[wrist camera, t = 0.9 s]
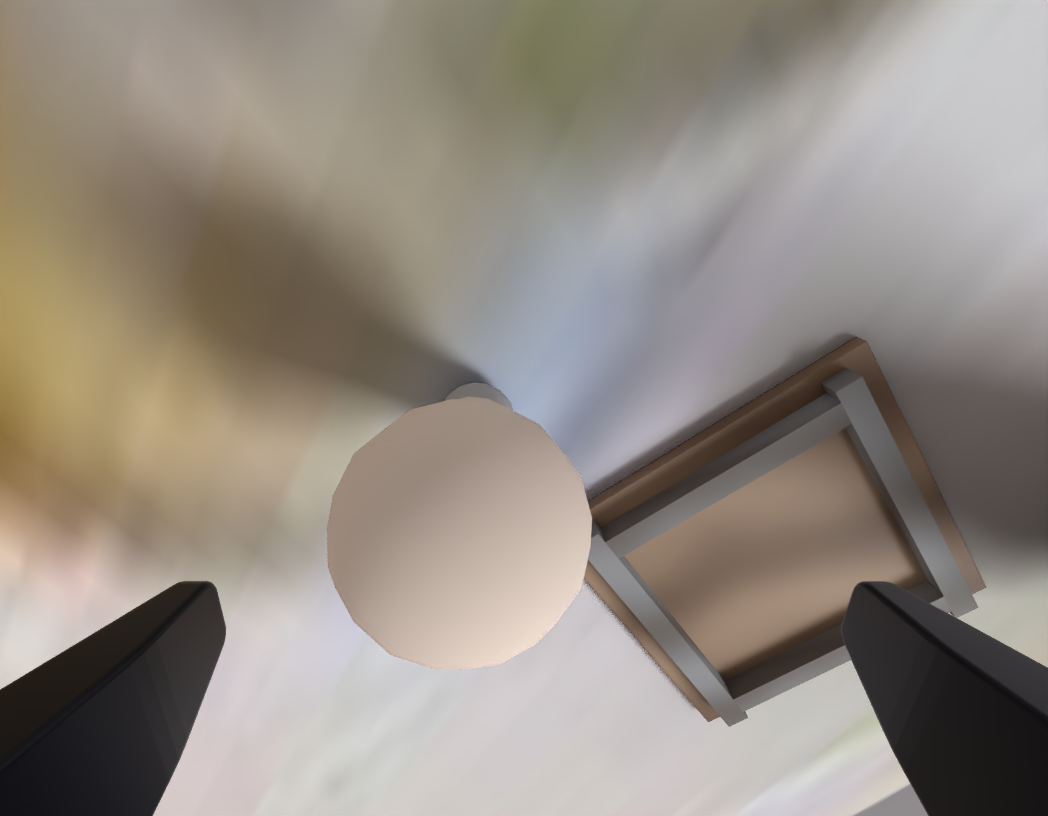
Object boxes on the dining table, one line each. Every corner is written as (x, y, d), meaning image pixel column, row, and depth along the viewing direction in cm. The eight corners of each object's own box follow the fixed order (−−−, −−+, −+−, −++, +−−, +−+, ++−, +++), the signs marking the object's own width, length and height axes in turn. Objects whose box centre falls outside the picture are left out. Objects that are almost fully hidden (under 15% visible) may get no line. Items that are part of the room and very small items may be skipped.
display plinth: (975, 578, 25) (1005, 603, 23) (704, 711, 28) (715, 741, 26) (856, 336, 20) (884, 349, 19) (546, 526, 23) (548, 550, 22)
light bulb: (357, 417, 21) (216, 643, 11) (464, 286, 19) (415, 412, 9) (489, 511, 23) (474, 779, 13) (599, 400, 21) (684, 609, 11)
